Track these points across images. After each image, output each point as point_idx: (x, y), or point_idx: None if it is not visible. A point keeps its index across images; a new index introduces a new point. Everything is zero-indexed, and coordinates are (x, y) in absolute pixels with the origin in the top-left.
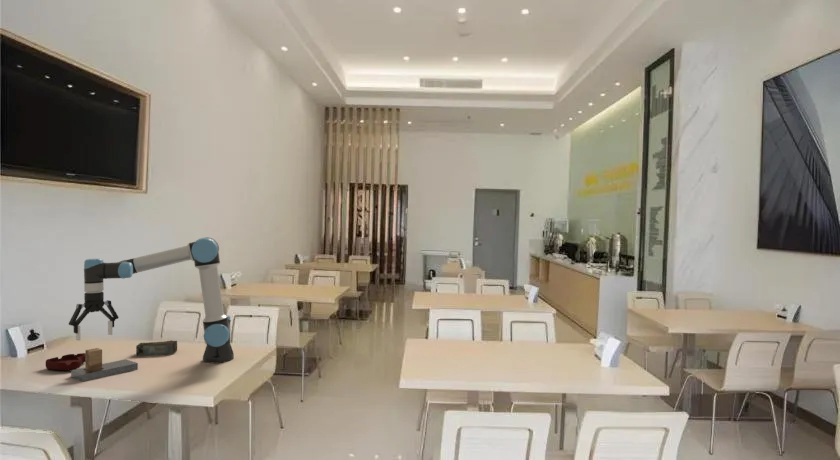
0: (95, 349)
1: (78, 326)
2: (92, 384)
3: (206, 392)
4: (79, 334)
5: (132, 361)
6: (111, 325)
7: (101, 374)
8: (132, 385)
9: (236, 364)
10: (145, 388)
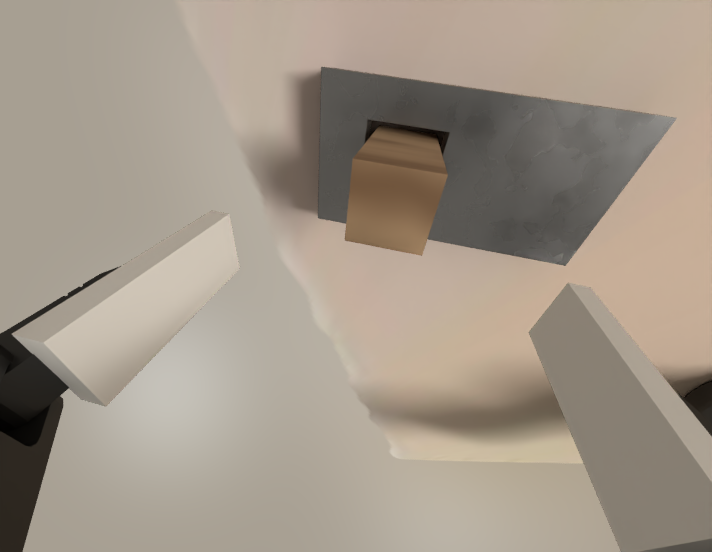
0: (403, 211)
1: (85, 396)
2: (329, 265)
3: (412, 452)
4: (192, 307)
5: (600, 217)
6: (592, 457)
7: None
8: (381, 353)
9: None
10: (380, 383)
